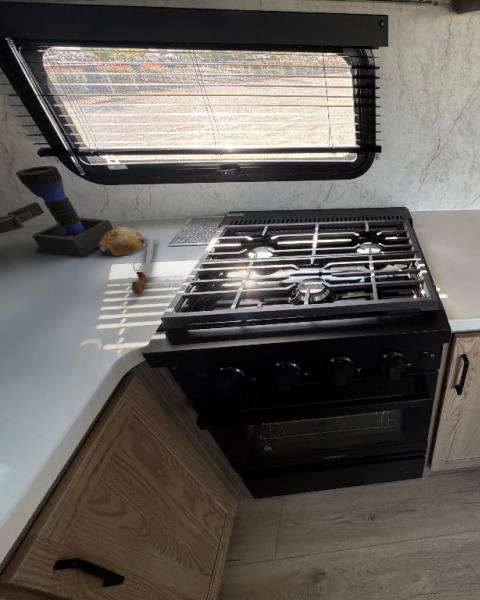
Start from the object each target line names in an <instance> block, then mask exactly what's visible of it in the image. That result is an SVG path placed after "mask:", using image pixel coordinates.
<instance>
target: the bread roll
mask: <svg viewBox="0 0 480 600" xmlns="http://www.w3.org/2000/svg"><path fill="white" fill-rule="evenodd" d="M99 244H100V247H101V248H100V252H101V253H102V254H106V255H107V256H114V257H120V256H126V255H130V254H131V255H132V254H133V253H136V252H138V251H140V250H141V249H142V248H145V247H146V244H145V241H144V237H143V235H142V234H141V233H140V232H139V231H138V230H136V229H133V228H131V227H126V226H120V227H115V228H113V229H112V230H110V231H109V232H107V233H106V234H105V235H104V236H103V237H102V240H101V242H100V243H99Z"/></svg>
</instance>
